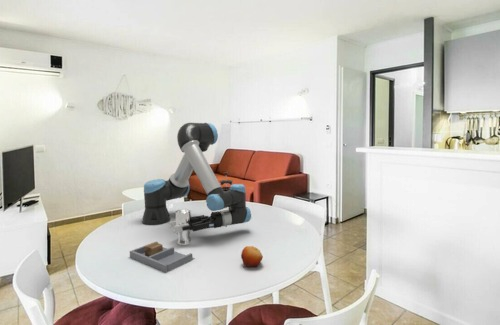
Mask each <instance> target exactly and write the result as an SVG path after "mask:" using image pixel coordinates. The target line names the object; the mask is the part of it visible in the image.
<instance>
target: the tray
mask: <svg viewBox="0 0 500 325" xmlns="http://www.w3.org/2000/svg"><path fill="white" fill-rule="evenodd" d="M154 242H156V243H159V242H158V241H154ZM154 242H152V243H154ZM129 258H131V259H134V260H136V261H137V262H140V263H142V264H145V265H146V266H149V267H151V268H153V269H157V270H159V271H161V272H163V273H166V274H168V273H169V272H171V271H173V270H175V269H177V268H180V267H182V266H183V265H185V264H187V263H189V262H192V261H193V260H196V258H195V257H193V253H191V252H190V253H188V254H183V253H181V252H178V251H175V247H173V246H170V247H169V248H166V247H163V251H161V252H159V253H156V254H154V255H151V256H149V257H148V256H145V245H142V246H140V247H137V248H134V249H132V250H129Z"/></svg>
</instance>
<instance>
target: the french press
mask: <svg viewBox="0 0 500 325" xmlns="http://www.w3.org/2000/svg"><path fill="white" fill-rule="evenodd" d="M223 174H225V176H227V174H230V173H229V172H228V171H226V172H223ZM233 182H234V181H233V180H232V179H231V180H229V179H222V180H219V184H220V186H221V187H222V189H223V191H224V192H225V191H228V188H230V186H231V185H233ZM224 184H225V186H224V187H223V185H224ZM227 184H229V185H230V186H228V185H227Z"/></svg>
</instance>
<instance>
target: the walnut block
mask: <svg viewBox="0 0 500 325" xmlns="http://www.w3.org/2000/svg"><path fill="white" fill-rule="evenodd" d="M156 242H157V241H154V243H153V242H151V243H148V244H146V245H144V246H145V256H148V257H149V256H151V255H154V254H156V253H159V252H161V251H163V244H162V243H159V242H158V243H156Z"/></svg>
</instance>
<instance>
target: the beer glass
mask: <svg viewBox="0 0 500 325" xmlns="http://www.w3.org/2000/svg"><path fill="white" fill-rule="evenodd" d="M191 217H192V213H191V210H190V209H186V208H184V209H183V208H182V209H178V210H176V211H175V217H174V218H175V219H174V221H175V223H176V226H178V225H185V224H189V226H190V223H191ZM176 233H177V243H176V244H177V245H178V246H179V245H180V246H186V245H189V244H191V243H192V240H191V230H187V231H182V232H176Z"/></svg>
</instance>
